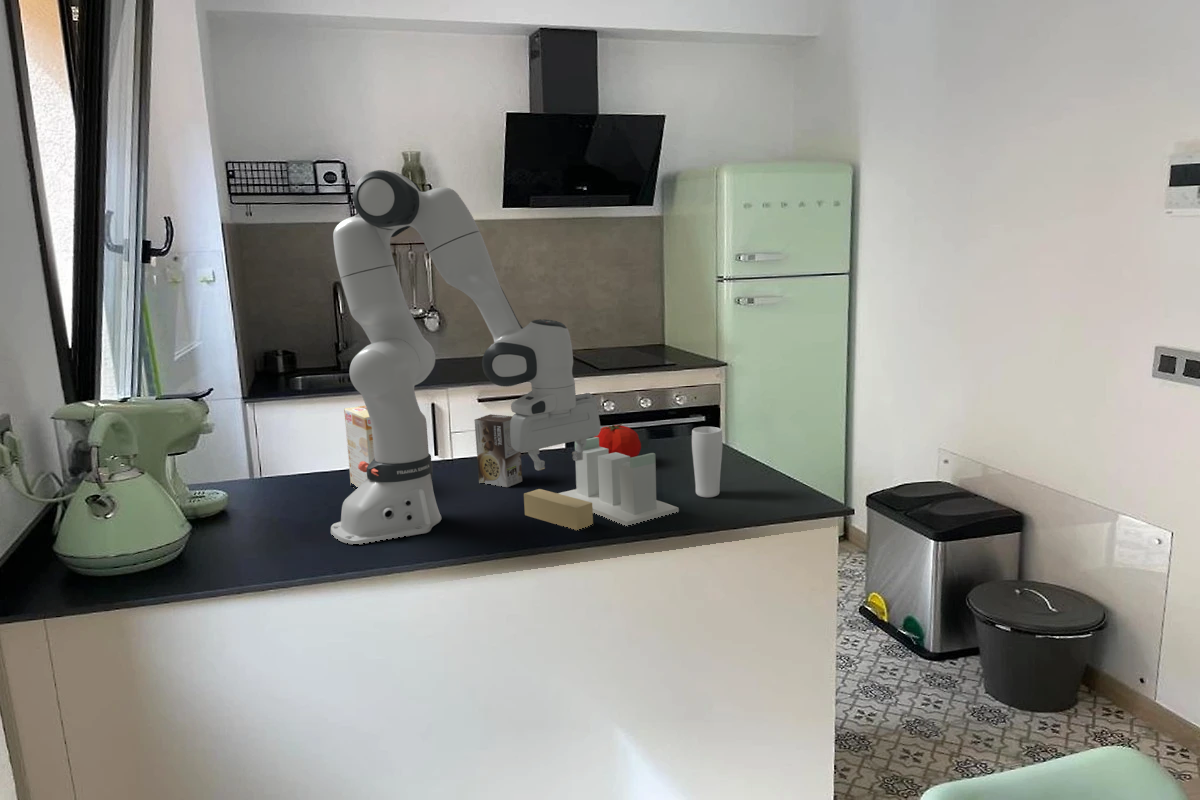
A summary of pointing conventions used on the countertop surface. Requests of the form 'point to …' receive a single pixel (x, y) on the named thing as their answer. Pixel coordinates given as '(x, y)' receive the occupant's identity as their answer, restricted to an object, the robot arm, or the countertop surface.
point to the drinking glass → (707, 460)
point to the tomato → (620, 440)
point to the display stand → (618, 485)
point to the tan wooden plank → (558, 509)
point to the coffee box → (496, 452)
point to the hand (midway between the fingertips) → (559, 464)
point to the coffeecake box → (358, 442)
